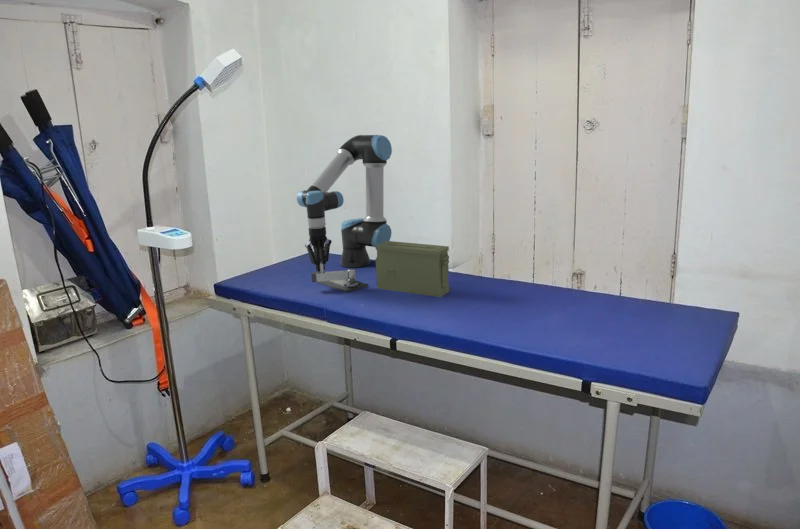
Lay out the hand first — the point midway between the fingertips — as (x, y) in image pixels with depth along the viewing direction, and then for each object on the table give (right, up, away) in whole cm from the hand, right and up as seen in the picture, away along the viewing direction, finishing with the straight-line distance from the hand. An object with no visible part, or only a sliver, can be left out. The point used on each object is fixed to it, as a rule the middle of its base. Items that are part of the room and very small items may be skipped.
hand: (321, 278), depth 269 cm
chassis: (+9, -3, +5) cm, 11 cm away
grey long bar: (+6, -2, -2) cm, 7 cm away
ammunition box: (+41, -5, -7) cm, 42 cm away
